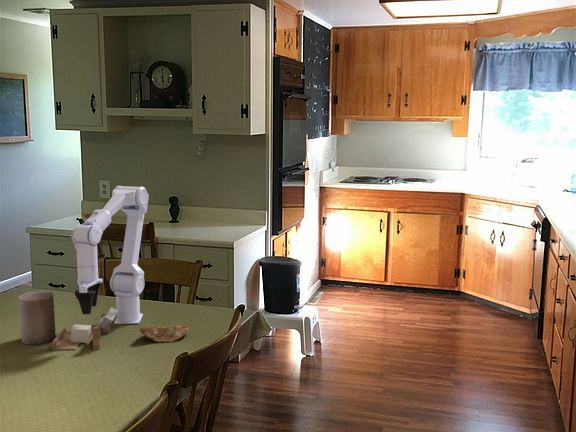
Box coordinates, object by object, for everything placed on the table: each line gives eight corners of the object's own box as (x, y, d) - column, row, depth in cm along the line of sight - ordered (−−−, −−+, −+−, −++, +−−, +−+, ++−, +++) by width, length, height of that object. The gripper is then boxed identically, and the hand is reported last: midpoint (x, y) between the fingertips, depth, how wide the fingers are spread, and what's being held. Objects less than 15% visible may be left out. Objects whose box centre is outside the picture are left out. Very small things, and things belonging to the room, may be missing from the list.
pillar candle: (63, 336, 192) (60, 288, 190) (38, 346, 183) (35, 296, 181) (39, 332, 196) (36, 285, 194) (13, 342, 187) (10, 292, 185)
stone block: (91, 338, 190) (73, 337, 190) (91, 325, 190) (74, 324, 189) (88, 342, 186) (70, 342, 186) (88, 329, 186) (71, 328, 185)
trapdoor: (101, 335, 194) (93, 330, 194) (118, 310, 193) (110, 305, 193) (94, 348, 183) (85, 343, 183) (112, 321, 183) (103, 316, 182)
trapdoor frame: (63, 333, 195) (63, 313, 194) (109, 332, 196) (109, 312, 195) (50, 350, 180) (49, 329, 179) (100, 349, 182) (99, 328, 181)
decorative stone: (137, 319, 193) (185, 320, 199) (136, 333, 193) (184, 333, 199) (142, 329, 184) (192, 329, 190) (140, 343, 185) (191, 343, 190)
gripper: (96, 270, 178) (98, 317, 180) (106, 259, 192) (107, 302, 195) (70, 271, 178) (73, 317, 180) (82, 259, 192) (84, 303, 194)
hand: (89, 310), depth 187 cm, fingers open, 7 cm apart
